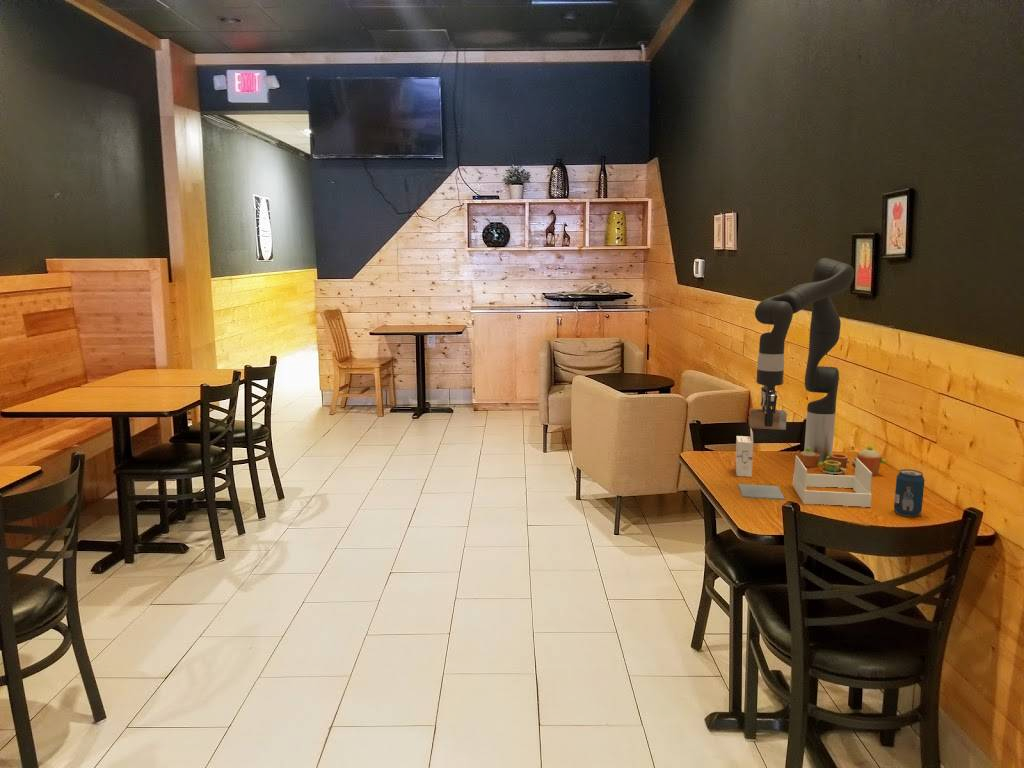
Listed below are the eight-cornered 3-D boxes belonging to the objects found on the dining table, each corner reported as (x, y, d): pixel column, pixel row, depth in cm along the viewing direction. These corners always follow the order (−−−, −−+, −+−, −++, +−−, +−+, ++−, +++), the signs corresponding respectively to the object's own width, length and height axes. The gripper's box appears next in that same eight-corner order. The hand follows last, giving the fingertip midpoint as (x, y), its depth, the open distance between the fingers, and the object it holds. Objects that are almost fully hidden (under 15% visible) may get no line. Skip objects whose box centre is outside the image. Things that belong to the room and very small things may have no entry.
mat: (738, 485, 237) (738, 483, 237) (778, 487, 235) (778, 486, 235) (742, 497, 225) (742, 495, 225) (784, 499, 223) (784, 498, 223)
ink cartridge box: (734, 469, 255) (736, 426, 252) (749, 469, 254) (751, 427, 251) (736, 476, 246) (738, 432, 244) (752, 477, 245) (754, 433, 243)
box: (748, 424, 229) (749, 408, 228) (782, 426, 227) (784, 410, 227) (750, 428, 225) (751, 411, 224) (785, 429, 223) (786, 413, 222)
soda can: (912, 508, 215) (916, 468, 213) (926, 517, 208) (930, 475, 206) (888, 509, 215) (892, 468, 213) (901, 517, 208) (905, 475, 206)
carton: (792, 485, 237) (794, 454, 235) (854, 488, 234) (856, 457, 232) (804, 503, 219) (806, 470, 218) (870, 507, 216) (873, 474, 214)
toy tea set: (873, 464, 261) (875, 437, 259) (890, 478, 245) (893, 449, 244) (795, 462, 263) (797, 436, 262) (808, 475, 248) (810, 447, 246)
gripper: (788, 372, 215) (784, 430, 218) (779, 365, 229) (776, 419, 232) (760, 371, 217) (757, 429, 220) (753, 364, 231) (750, 418, 234)
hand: (767, 424), depth 226 cm, fingers closed on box, 4 cm apart
